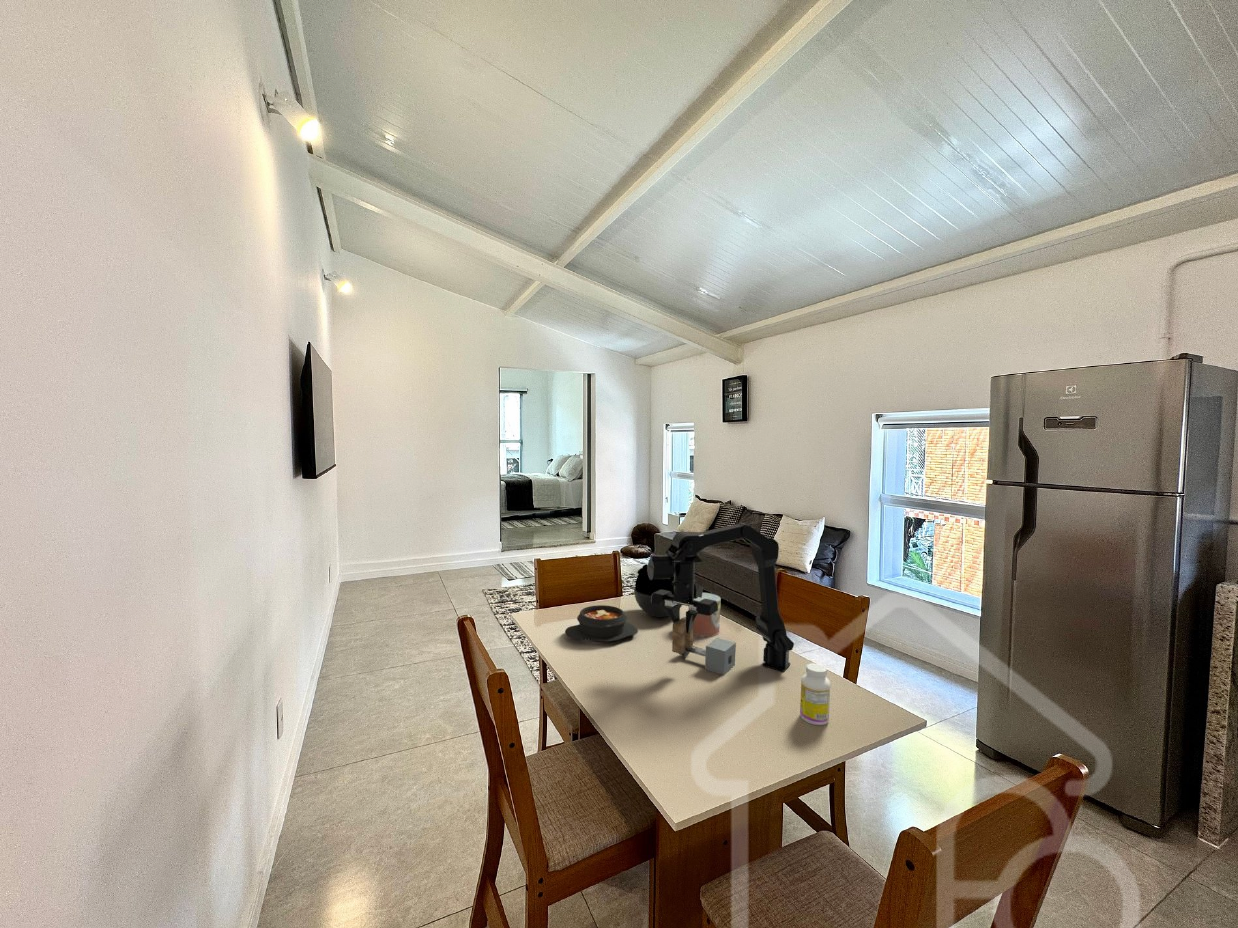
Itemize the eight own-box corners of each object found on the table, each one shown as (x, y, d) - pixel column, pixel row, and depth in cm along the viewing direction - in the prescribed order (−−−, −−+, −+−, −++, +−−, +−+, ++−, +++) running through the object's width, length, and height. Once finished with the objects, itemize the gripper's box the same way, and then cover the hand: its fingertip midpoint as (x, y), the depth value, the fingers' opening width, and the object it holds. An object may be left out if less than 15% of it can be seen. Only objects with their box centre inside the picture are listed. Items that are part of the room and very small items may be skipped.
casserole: (571, 650, 160) (571, 624, 160) (560, 629, 178) (560, 605, 177) (645, 643, 167) (646, 618, 167) (627, 623, 185) (628, 600, 185)
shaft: (723, 662, 153) (724, 646, 153) (716, 668, 149) (717, 651, 149) (685, 651, 160) (685, 635, 160) (677, 656, 156) (678, 640, 156)
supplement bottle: (805, 708, 129) (807, 658, 128) (832, 718, 124) (834, 666, 124) (795, 719, 123) (798, 667, 123) (823, 729, 119) (826, 676, 119)
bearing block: (734, 665, 152) (735, 642, 152) (724, 674, 146) (724, 651, 146) (716, 659, 156) (717, 637, 156) (705, 669, 149) (705, 645, 149)
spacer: (692, 645, 147) (693, 618, 147) (681, 654, 141) (682, 625, 141) (683, 643, 149) (684, 616, 148) (672, 651, 143) (672, 623, 143)
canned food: (710, 639, 172) (711, 604, 172) (681, 630, 179) (682, 597, 179) (725, 629, 181) (726, 596, 181) (697, 622, 188) (698, 590, 188)
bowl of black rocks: (696, 619, 191) (698, 570, 190) (653, 628, 181) (654, 576, 180) (664, 604, 208) (666, 558, 207) (623, 611, 198) (624, 564, 197)
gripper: (726, 576, 145) (725, 630, 146) (669, 566, 156) (668, 616, 157) (709, 585, 136) (708, 642, 137) (650, 574, 147) (649, 627, 148)
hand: (683, 631), depth 145 cm, fingers closed on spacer, 3 cm apart
